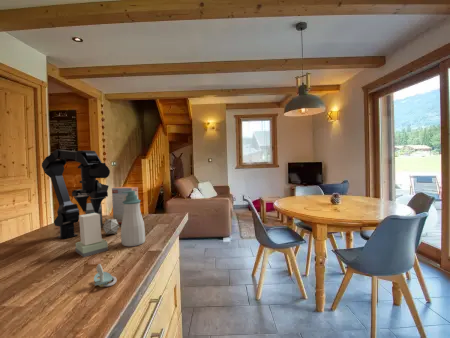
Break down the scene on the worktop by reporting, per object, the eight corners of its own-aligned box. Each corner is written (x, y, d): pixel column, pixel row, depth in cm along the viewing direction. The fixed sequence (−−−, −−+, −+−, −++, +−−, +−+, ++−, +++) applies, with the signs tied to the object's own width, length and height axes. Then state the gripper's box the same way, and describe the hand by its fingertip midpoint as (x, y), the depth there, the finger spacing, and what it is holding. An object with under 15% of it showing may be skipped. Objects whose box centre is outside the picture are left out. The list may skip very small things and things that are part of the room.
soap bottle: (117, 243, 108) (115, 191, 107) (138, 238, 115) (136, 189, 114) (128, 248, 101) (125, 193, 100) (149, 242, 108) (147, 190, 107)
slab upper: (75, 248, 100) (75, 242, 100) (99, 242, 106) (99, 237, 106) (83, 253, 94) (82, 247, 94) (107, 247, 100) (107, 241, 100)
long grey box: (87, 220, 152) (86, 203, 152) (101, 219, 156) (101, 201, 155) (86, 230, 130) (85, 210, 129) (102, 228, 133) (101, 208, 133)
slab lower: (75, 253, 100) (75, 248, 100) (99, 247, 107) (98, 242, 106) (83, 259, 94) (83, 253, 94) (108, 252, 101) (107, 246, 100)
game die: (113, 242, 121) (111, 229, 115) (98, 236, 122) (95, 223, 116) (125, 229, 128) (123, 216, 122) (111, 223, 129) (109, 210, 123)
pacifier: (115, 276, 78) (93, 281, 75) (114, 256, 78) (93, 260, 75) (118, 286, 71) (94, 292, 68) (117, 265, 71) (94, 269, 68)
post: (81, 242, 100) (78, 215, 100) (97, 238, 104) (95, 212, 104) (85, 245, 95) (82, 217, 95) (101, 241, 100) (99, 214, 99)
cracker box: (140, 222, 144) (138, 186, 143) (133, 225, 139) (131, 187, 138) (120, 221, 149) (118, 186, 148) (113, 223, 143) (111, 187, 142)
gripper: (117, 177, 115) (119, 210, 115) (93, 176, 124) (95, 207, 125) (94, 179, 105) (96, 215, 106) (70, 178, 114) (72, 211, 115)
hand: (90, 212), depth 113 cm, fingers open, 9 cm apart
